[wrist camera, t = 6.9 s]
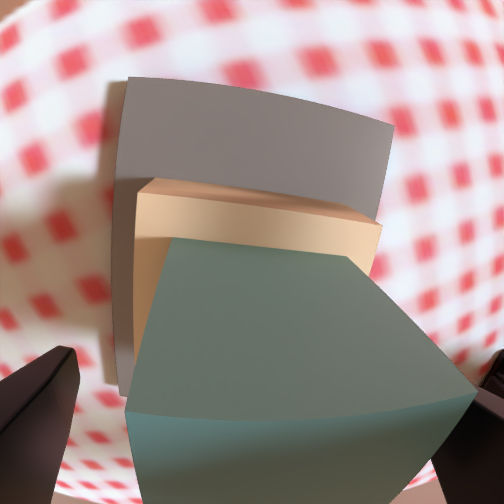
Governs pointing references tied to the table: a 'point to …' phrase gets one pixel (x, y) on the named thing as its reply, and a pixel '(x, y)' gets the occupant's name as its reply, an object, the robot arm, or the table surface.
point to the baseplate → (232, 162)
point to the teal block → (283, 382)
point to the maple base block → (238, 229)
